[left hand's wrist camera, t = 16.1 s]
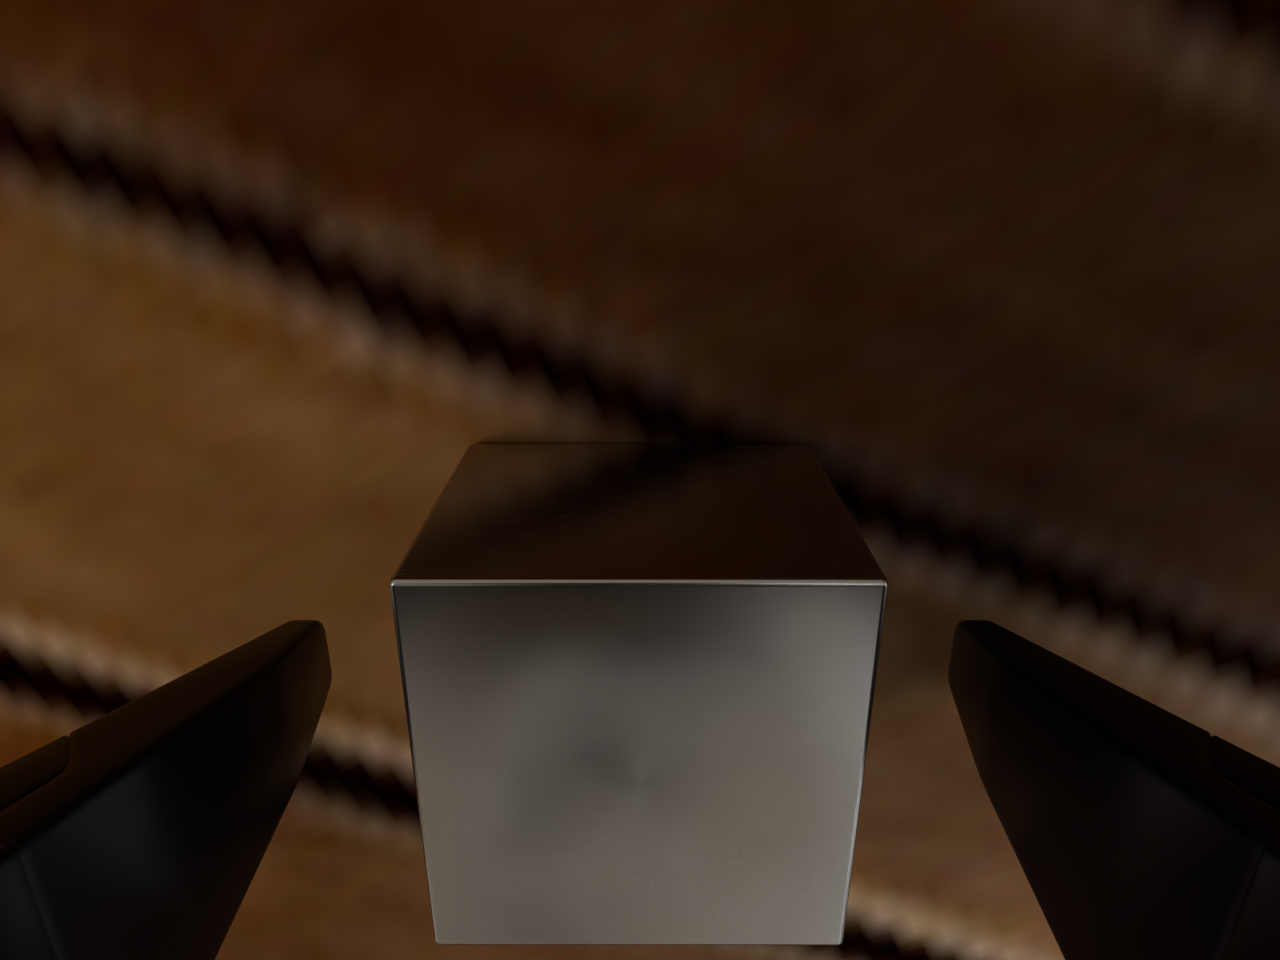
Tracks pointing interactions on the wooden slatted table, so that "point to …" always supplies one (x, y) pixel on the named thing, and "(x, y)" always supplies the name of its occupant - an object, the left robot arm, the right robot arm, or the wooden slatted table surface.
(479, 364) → the wooden slatted table surface
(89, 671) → the wooden slatted table surface
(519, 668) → the grey metal block
